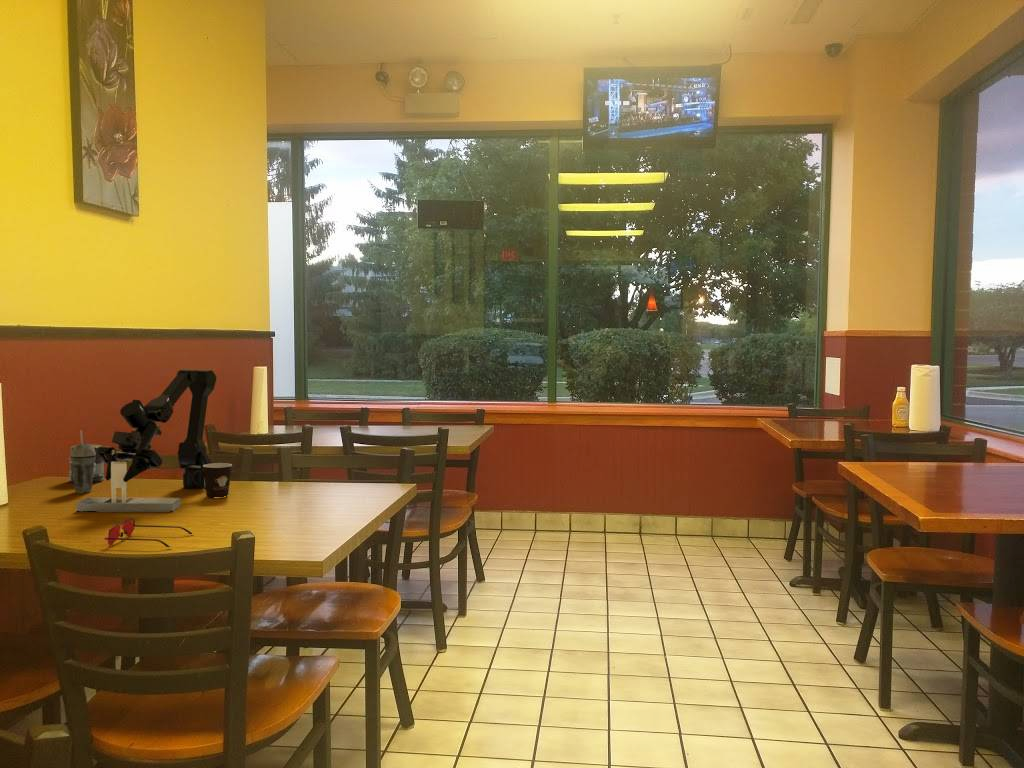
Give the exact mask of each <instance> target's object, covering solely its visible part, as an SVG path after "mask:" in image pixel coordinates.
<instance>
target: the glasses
mask: <svg viewBox="0 0 1024 768" xmlns="http://www.w3.org/2000/svg"><path fill="white" fill-rule="evenodd" d="M131 520H132V521H131ZM122 524H123V525H122ZM121 525H122V527H121ZM135 527H137V528H141V527H142V528H170V529H171V528H175V529H181V530H184V531H185V532H186V533H188V534H189V535H190V534H192V533H193V532H191V531H190V530H188V529H187V528H185V527H183V526H173V525H171V526H170V525H150V524H148V525H143V524H136V522H135V519H134V518H129V519H125V520H124V521H123V522H121V523H117V524H115V526H112V527H111V528H109V529H108V535H107V536H104V539H103V540H105V541H107V544H108V546H110V545H112V546H113V545H114V543H116V541H117V540H119V541H146V542H147V541H150V542H153V541H154V542H158V543H161V544H162V545H164V546H165V547H166V548H167V547H171V546H170V545H168V544H167V543H166V542H164V541H163V540H160V539H156V538H155V539H153V538H151V539H150V538H130V537H131V536H132V534H133V532H134V530H135ZM121 529H122V532H121ZM124 534H125V536H129V537H127V538H124V537H123V536H124ZM130 535H131V536H130Z"/></svg>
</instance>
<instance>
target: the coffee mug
mask: <svg viewBox="0 0 1024 768" xmlns="http://www.w3.org/2000/svg"><path fill="white" fill-rule="evenodd" d="M232 468H233V464H232V463H224V462H217V463H212V464H206V465H203V470H204V472H202V471H196V472H195V473H193V475H192V480H193V481H194V483H196V484H197V485H198V486H200V487H202V488H201V489H204V490H205V495H206V498H207V497H209V498H208V499H211V498H214V497H224V496H227V495H228V496H229V493H230V492H229V491H230V484H231V477H232ZM197 473H202V474H203V476H204V479H205V487H204V486H202V485H200V484H198V483H197V482H196V481H195V480H194V476H195V474H197Z"/></svg>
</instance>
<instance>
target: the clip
mask: <svg viewBox="0 0 1024 768" xmlns="http://www.w3.org/2000/svg"><path fill="white" fill-rule="evenodd" d="M127 461H128V460H126V461H120V462H111V479H110V489H111V490H110V491H111V497H110V498H111V503H116V498H117V489H121V498H122V503H126V498H127V483H128V481H127V482H124V481H123V479H124V477H125V475H126V473H127V471H128V469H127V467H128V466H127V465H128V464H127Z"/></svg>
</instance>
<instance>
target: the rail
mask: <svg viewBox="0 0 1024 768" xmlns="http://www.w3.org/2000/svg"><path fill="white" fill-rule="evenodd" d="M179 506H180V507H181V497H126V503H122V497H116V503H111V497H86V498H84V499H82V500H80V501H78V502H77V503H76V506H75V507H76V511H81V512H80V513H83V512H82V511H96V512H95V513H171V512H170V511H173V512H175V511H176V510H177V509H178V508H180V507H179ZM176 508H177V509H176ZM175 509H176V510H175ZM174 510H175V511H174ZM97 511H98V512H97Z"/></svg>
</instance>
